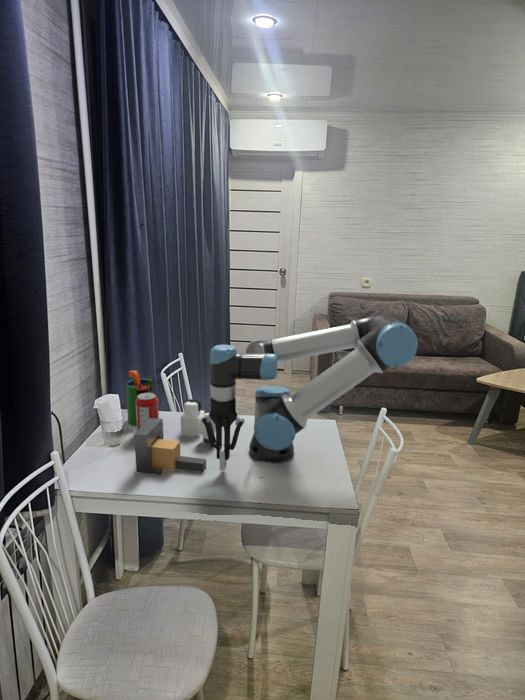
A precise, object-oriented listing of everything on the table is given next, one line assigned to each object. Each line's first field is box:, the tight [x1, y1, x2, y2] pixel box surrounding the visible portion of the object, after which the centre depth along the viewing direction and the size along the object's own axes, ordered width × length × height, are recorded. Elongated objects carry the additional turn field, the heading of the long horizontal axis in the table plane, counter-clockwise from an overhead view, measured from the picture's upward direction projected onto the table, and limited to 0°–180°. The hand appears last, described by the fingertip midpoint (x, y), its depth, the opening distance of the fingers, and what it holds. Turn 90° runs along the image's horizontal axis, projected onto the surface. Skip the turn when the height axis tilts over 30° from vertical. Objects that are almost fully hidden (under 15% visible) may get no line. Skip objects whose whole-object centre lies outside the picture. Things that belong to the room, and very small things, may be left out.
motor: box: [125, 369, 154, 427], centre depth 169 cm, size 10×9×20 cm
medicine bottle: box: [180, 398, 206, 437], centre depth 162 cm, size 7×7×12 cm
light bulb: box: [198, 412, 216, 445], centre depth 155 cm, size 7×7×11 cm
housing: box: [133, 418, 164, 476], centre depth 139 cm, size 8×12×13 cm, turn 169°
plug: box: [151, 438, 207, 473], centre depth 139 cm, size 17×6×8 cm, turn 79°
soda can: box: [135, 393, 160, 432], centre depth 159 cm, size 8×8×15 cm
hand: (223, 468), depth 137 cm, fingers closed
